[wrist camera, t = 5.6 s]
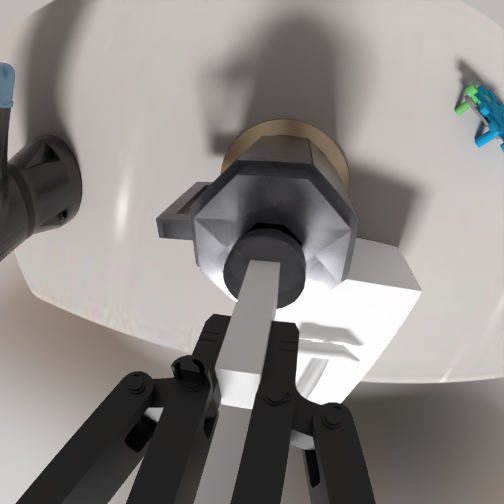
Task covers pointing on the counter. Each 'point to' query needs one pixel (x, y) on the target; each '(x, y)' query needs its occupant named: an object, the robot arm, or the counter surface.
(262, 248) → the plunger
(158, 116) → the counter surface
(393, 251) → the tissue box
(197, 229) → the carafe
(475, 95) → the gear
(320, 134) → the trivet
